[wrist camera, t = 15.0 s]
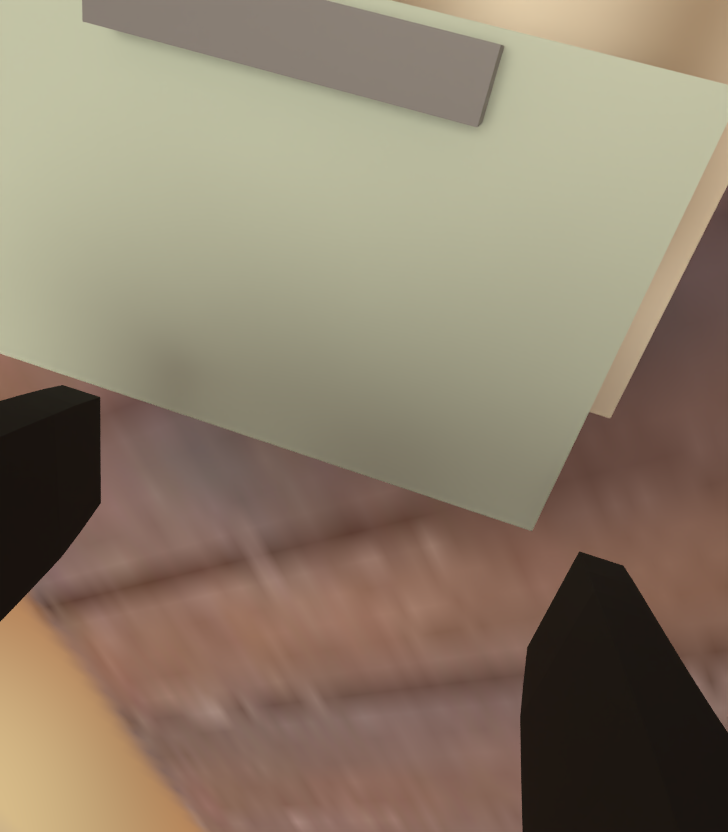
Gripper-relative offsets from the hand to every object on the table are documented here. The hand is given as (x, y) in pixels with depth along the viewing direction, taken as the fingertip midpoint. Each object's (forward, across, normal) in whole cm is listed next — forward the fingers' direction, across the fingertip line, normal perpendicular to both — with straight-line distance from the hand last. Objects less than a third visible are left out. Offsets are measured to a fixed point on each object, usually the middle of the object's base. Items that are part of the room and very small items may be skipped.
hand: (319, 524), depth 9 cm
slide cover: (+8, +2, -3) cm, 9 cm away
